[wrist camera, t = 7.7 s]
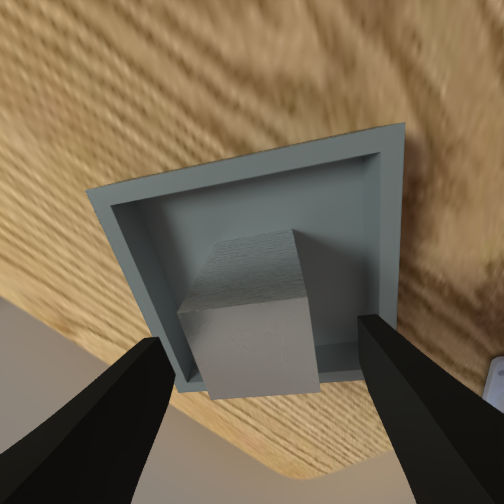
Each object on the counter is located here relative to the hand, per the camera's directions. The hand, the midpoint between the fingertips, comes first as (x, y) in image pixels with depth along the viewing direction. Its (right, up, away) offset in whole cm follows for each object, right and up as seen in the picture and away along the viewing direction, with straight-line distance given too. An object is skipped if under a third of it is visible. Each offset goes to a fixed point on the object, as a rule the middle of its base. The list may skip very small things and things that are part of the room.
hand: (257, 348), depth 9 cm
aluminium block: (0, +3, +5) cm, 5 cm away
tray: (0, +2, +5) cm, 6 cm away
